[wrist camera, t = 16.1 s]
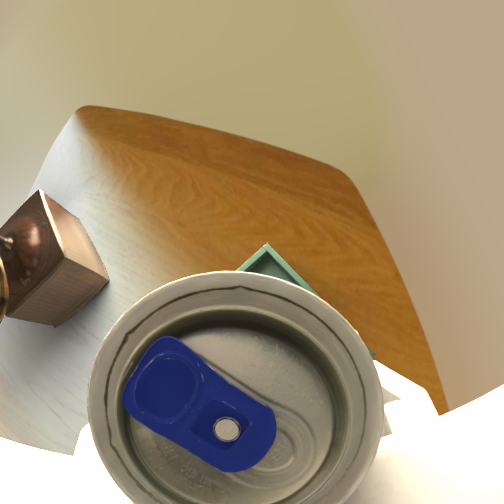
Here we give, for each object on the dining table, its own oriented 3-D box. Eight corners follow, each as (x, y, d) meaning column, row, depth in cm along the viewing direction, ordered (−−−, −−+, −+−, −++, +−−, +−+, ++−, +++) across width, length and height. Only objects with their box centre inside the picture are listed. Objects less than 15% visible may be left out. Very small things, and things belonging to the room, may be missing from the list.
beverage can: (197, 377, 18) (40, 435, 4) (241, 311, 19) (182, 208, 5) (266, 420, 17) (274, 582, 3) (310, 353, 18) (443, 363, 4)
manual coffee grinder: (28, 268, 34) (-69, 221, 17) (80, 217, 36) (-10, 143, 19) (71, 367, 30) (-50, 362, 13) (134, 316, 31) (16, 279, 14)
